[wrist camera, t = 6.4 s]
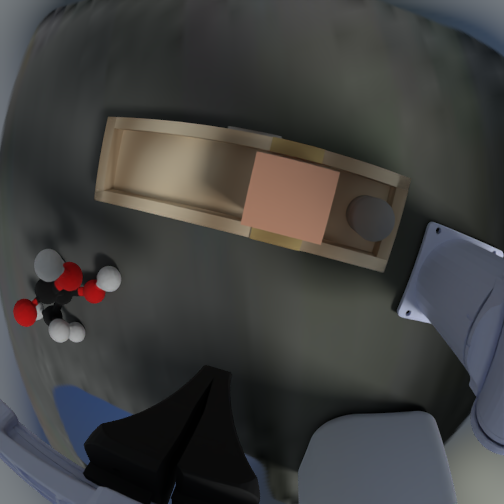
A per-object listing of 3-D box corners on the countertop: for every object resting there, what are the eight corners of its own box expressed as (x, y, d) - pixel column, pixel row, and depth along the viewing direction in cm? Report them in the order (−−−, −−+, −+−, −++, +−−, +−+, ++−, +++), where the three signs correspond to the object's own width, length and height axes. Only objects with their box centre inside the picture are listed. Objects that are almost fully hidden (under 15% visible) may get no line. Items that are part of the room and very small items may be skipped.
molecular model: (112, 316, 30) (61, 377, 22) (66, 272, 29) (13, 325, 21) (139, 245, 20) (45, 342, 12) (72, 181, 19) (-25, 252, 11)
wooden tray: (391, 171, 18) (420, 170, 13) (366, 261, 20) (386, 287, 15) (137, 118, 20) (99, 107, 15) (122, 200, 22) (83, 208, 17)
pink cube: (330, 173, 16) (340, 172, 12) (315, 231, 17) (320, 245, 13) (264, 157, 16) (256, 151, 13) (251, 214, 17) (240, 224, 14)
